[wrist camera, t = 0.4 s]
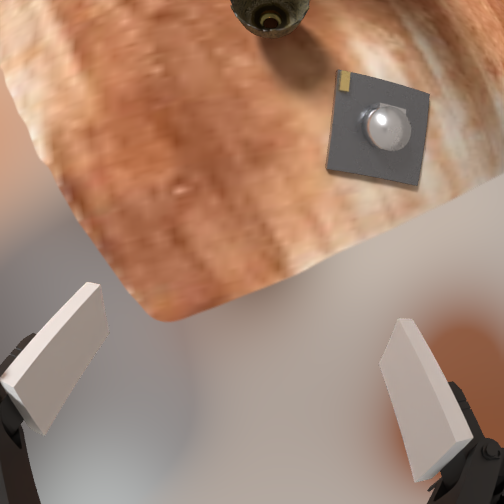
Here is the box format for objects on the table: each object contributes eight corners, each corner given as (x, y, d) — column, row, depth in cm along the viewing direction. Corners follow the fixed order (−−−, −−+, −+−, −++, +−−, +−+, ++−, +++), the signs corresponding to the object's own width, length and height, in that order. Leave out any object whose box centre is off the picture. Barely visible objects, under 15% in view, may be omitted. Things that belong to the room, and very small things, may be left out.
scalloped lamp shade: (307, 6, 27) (315, -22, 19) (296, 56, 29) (302, 36, 22) (245, -5, 26) (239, -34, 19) (233, 44, 29) (222, 23, 22)
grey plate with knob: (336, 71, 30) (343, 64, 26) (426, 94, 29) (441, 92, 26) (325, 167, 34) (331, 172, 31) (414, 184, 34) (428, 190, 30)
